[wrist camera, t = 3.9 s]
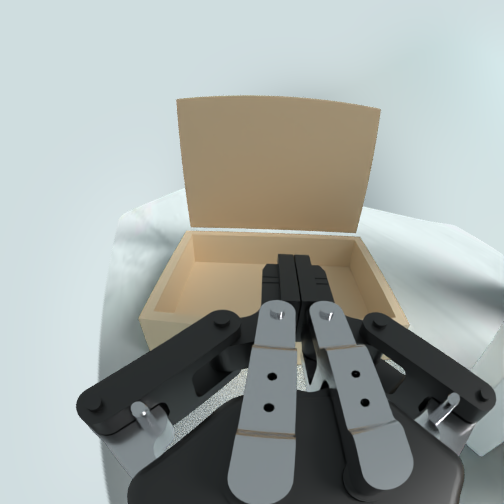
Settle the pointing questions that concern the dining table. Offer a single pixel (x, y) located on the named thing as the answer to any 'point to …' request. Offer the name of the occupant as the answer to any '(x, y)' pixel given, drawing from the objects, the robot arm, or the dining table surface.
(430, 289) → the dining table surface
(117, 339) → the dining table surface
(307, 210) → the lid
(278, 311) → the robot arm
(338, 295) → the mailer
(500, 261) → the dining table surface
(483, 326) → the dining table surface
